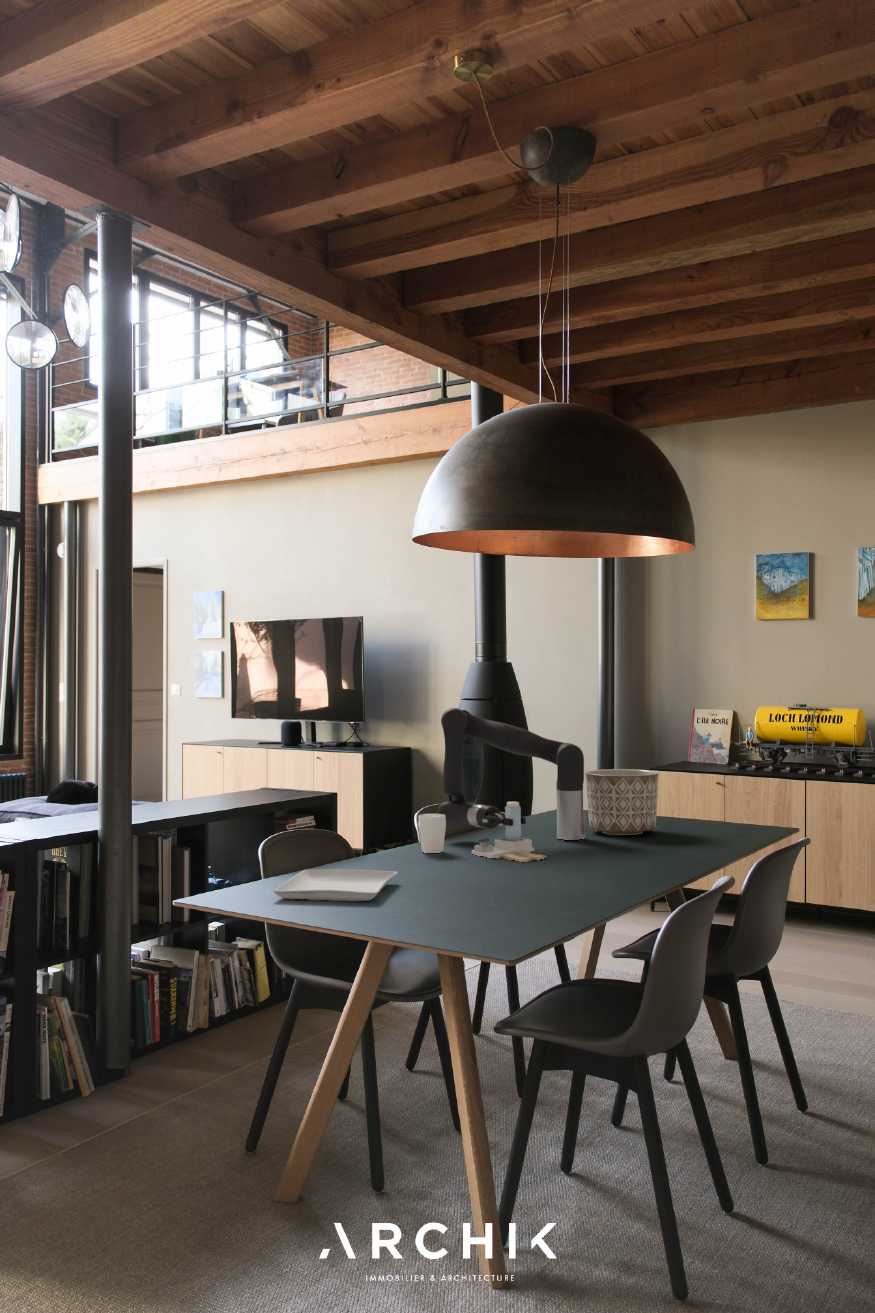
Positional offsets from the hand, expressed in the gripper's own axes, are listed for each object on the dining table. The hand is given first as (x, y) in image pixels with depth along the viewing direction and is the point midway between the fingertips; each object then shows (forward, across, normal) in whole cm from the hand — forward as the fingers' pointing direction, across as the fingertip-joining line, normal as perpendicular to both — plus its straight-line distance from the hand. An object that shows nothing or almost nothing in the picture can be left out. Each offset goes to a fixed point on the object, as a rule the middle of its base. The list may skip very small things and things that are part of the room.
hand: (518, 821), depth 319 cm
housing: (-3, -5, +10) cm, 11 cm away
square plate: (+10, -76, +10) cm, 77 cm away
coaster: (+8, -6, +10) cm, 14 cm away
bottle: (-3, 0, +8) cm, 9 cm away
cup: (-20, -20, +10) cm, 30 cm away
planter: (-5, +56, +10) cm, 57 cm away
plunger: (-5, -11, +9) cm, 15 cm away
